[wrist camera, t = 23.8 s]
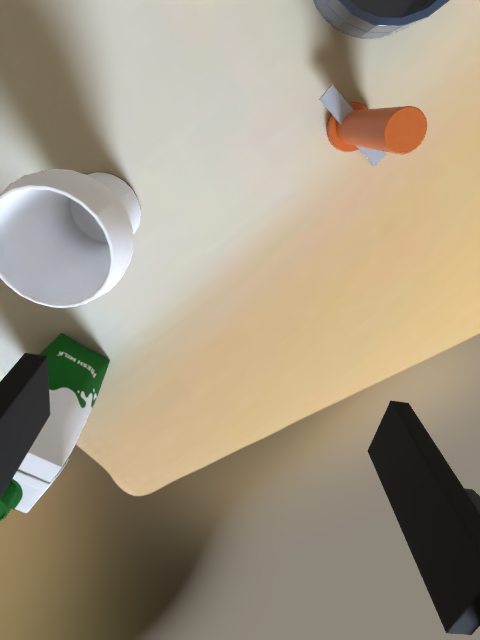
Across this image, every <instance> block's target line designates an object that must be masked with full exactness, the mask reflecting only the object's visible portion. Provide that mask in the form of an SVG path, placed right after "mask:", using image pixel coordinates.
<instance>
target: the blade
mask: <svg viewBox="0 0 480 640" xmlns="http://www.w3.org/2000/svg"><path fill="white" fill-rule="evenodd" d="M319 100H320V101H321V102H322V103H323V104H324V106H325V107H326V108H327V109H328V110H329V111H330V113H331V114H332V115H331V117H330V119H329V121H328V125H327V135H328V139H329V141H330V143H331V144H332V145H333V146H334V147H335V148H336V149H338V150H341V151H345V152H351V151H355V150H358V149H359V150H360V151H361V152H362V154H363V155H364V156H365V157H366V158H367V159H368V161H369V162H370V163H371V164H372V165H373V166H375V165H376V164H377V163H378V162H379V161H380V160H381V159H382V158H383V157H384V156H385V155H386V153H385V152H391V153H396V154H406V153H409V152H411V151H413V150H414V149H416V148H417V147H418V146H419V145H420V144H421V142H422V141H423V139H424V137H425V134H426V130H427V121H426V118H425V115H424V114H423V112H422V111H421V110H420V109H418V108H416V107H412V106H406V107H393V108H380V109H368V108H367V107H366V106H364V105H363V104H360V103H356V102H352V103H348V102H347V101H346V100H345V99H344V98H343V96H342V95H341V94H340V93H339V92H338V90H337V89H336V88H335V87H334V86H333V85H331V86H330V87H329V89H328V90H327V91H326V92H325V93H324V94H323V95H322V97H321V98H320V99H319ZM384 151H385V152H384Z"/></svg>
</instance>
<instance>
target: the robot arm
mask: <svg viewBox="0 0 480 640" xmlns="http://www.w3.org/2000/svg"><path fill="white" fill-rule="evenodd" d="M49 416H50V397H49V376H48V356H44V355H37V354H29V353H25V354H24V355H23V356H22V357H21V358H20V360H19V361H18V362H17V363H16V364H15V365H14V367H13V368H12V369H11V370H10V371H9V372H8V374H7V375H6V376H5V377H4V378H3V379H2V381H1V382H0V499H1V497H2V495H3V494H4V492H5V490H6V489H7V487H8V485H9V484H10V482H11V480H12V479H13V477H14V475H15V474H16V472H17V470H18V469H19V467H20V465H21V463H22V462H23V460H24V458H25V457H26V455H27V453H28V452H29V450H30V448H31V447H32V445H33V443H34V442H35V440H36V438H37V436H38V435H39V433H40V431H41V430H42V428H43V426H44V425H45V423H46V421H47V420H48V418H49ZM368 453H369V455H370V458H371V460H372V462H373V464H374V467H375V469H376V471H377V474H378V476H379V478H380V481H381V483H382V485H383V488H384V490H385V492H386V495H387V497H388V499H389V502H390V504H391V506H392V508H393V511H394V513H395V515H396V518H397V520H398V522H399V525H400V527H401V529H402V532H403V534H404V536H405V539H406V541H407V543H408V546H409V548H410V550H411V552H412V555H413V557H414V559H415V562H416V564H417V566H418V569H419V571H420V573H421V576H422V578H423V580H424V582H425V585H426V587H427V590H428V592H429V594H430V596H431V599H432V601H433V603H434V606H435V608H436V610H437V612H438V615H439V617H440V619H441V622H442V624H443V626H444V629H445V631H446V633H451V634H467V635H472V634H473V632H475V630H476V629H477V628H478V627H479V626H480V496H479V495H478V494H477V493H476V492H475V491H474V490H472V489H464V488H463V486H462V485H461V483H460V482H459V480H458V479H457V477H456V475H455V474H454V473H453V471H452V469H451V468H450V466H449V465H448V464H447V462H446V460H445V459H444V457H443V455H442V454H441V452H440V451H439V449H438V448H437V446H436V445H435V443H434V442H433V440H432V439H431V437H430V435H429V434H428V432H427V431H426V429H425V428H424V426H423V425H422V423H421V422H420V420H419V418H418V417H417V416H416V414H415V412H414V411H413V409H412V408H411V406H410V405H409V403H404V402H396V401H390V403H389V405H388V408H387V410H386V412H385V414H384V416H383V419H382V421H381V423H380V425H379V427H378V429H377V432H376V434H375V436H374V438H373V440H372V443H371V445H370V447H369V449H368Z"/></svg>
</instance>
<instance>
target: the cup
mask: <svg viewBox="0 0 480 640" xmlns="http://www.w3.org/2000/svg"><path fill="white" fill-rule="evenodd" d="M140 218H141V211H140V205H139V202H138V199H137V197H136V195H135V193H134V192H133V190H132V189H131V188H130V187H129V186H128V185H127V184H126V183H125V182H124V181H123V180H121V179H119V178H118V177H116V176H114V175H111V174H108V173H98V172H96V173H91V174H87V175H85V174H82V173H79V172H76V171H73V170H64V169H50V170H45V171H41V172H37V173H33V174H29V175H25V176H23V177H21V178H20V179H18V180H16V181H15V182H13V183H11V184H10V185H9V186H8V187H7V188H6V189H5V190H4V191H3V192H2V193H1V195H0V278H1V279H2V280H3V281H4V283H5V284H6V285H7V286H9V287H10V288H11V289H13V290H14V291H15V292H16V293H18V294H19V295H20V296H22V297H24V298H26V299H28V300H30V301H32V302H34V303H37V304H41V305H45V306H49V307H58V308H69V307H74V306H79V305H83V304H85V303H87V302H89V301H91V300H93V299H95V298H97V297H99V296H101V295H103V294H105V293H106V292H108V291H109V290H110V289H111V288H112V287H114V286H115V285H116V284H117V283H118V282H119V280H120V279H121V277H122V276H123V274H124V272H125V271H126V269H127V267H128V265H129V264H130V262H131V259H132V254H133V249H134V236H133V234H134V233H135V232H136V230H137V228H138V226H139V223H140Z"/></svg>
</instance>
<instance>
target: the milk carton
mask: <svg viewBox="0 0 480 640" xmlns="http://www.w3.org/2000/svg"><path fill="white" fill-rule="evenodd" d="M39 355H44V356H48V376H49V397H50V416H49V418H48V420H47V421H46V423H45V425H44V426H43V428H42V430H41V431H40V433H39V435H38V436H37V438H36V440H35V442H34V443H33V445H32V447H31V448H30V450H29V452H28V453H27V455H26V457H25V458H24V460H23V462H22V463H21V465H20V467H19V469H18V470H17V472H16V474H15V475H14V477H13V479H12V480H11V482H10V484H9V485H8V487H7V489H6V490H5V492H4V494H3V495H2V497H1V499H0V520H2V519H4V518H5V517H6V516H7V514H8V513H9V511H10V509H17V510H19V511H21V512H24V513H27V512H28V511H29V510H30V509H31V507H32V506H33V505H34V504H35V503H36V502H37V500H38V499H39V498H40V497H41V495H42V494H43V493H44V492H45V491H46V490H47V488H48V487H49V486H50V485H51V484H52V483H53V481H54V480H55V479H56V478H57V476H58V475H59V474H60V472H61V471H62V470H63V468H64V467H65V465H66V464H67V462H68V460H69V458H68V456H69V455H70V453H71V452H72V450H73V448H74V446H75V444H76V442H77V440H78V438H79V436H80V433H81V431H82V429H83V427H84V425H85V423H86V420H87V418H88V416H89V414H90V412H91V410H92V407H93V405H94V403H95V401H96V398H97V396H98V393H99V390H100V387H101V384H102V381H103V379H104V376H105V373H106V370H107V367H108V364H109V362H110V360H108V359H106V358H104V357H102V356H101V355H99V354H97V353H95V352H94V351H92V350H90V349H88V348H86V347H85V346H83V345H81V344H79V343H78V342H76V341H74V340H72V339H70V338H69V337H67V336H65V335H63V334H62V333H61V334H60V335H59V336H58V337H57V338H56V339H55V340H54V341H53V342H52V343H51V344H50V345H49V346H48V347H47V348H46V349H44V350H43V351H42V352H41V353H40V354H39ZM67 458H68V460H67V461H66V459H67ZM65 461H66V462H65ZM51 481H52V482H51Z"/></svg>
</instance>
